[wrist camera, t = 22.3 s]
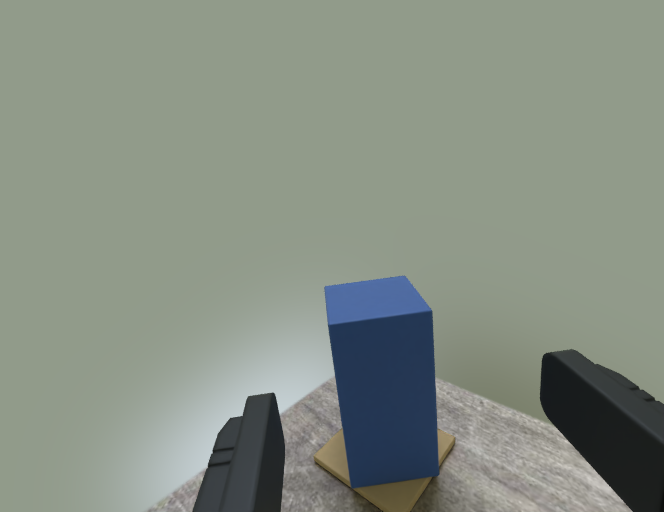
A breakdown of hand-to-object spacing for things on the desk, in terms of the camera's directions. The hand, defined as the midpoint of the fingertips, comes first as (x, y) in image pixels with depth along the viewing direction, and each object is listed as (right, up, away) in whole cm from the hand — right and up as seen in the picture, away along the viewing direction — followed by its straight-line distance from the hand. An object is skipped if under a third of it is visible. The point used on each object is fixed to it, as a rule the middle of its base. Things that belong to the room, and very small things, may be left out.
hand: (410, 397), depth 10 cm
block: (+1, -6, +9) cm, 11 cm away
